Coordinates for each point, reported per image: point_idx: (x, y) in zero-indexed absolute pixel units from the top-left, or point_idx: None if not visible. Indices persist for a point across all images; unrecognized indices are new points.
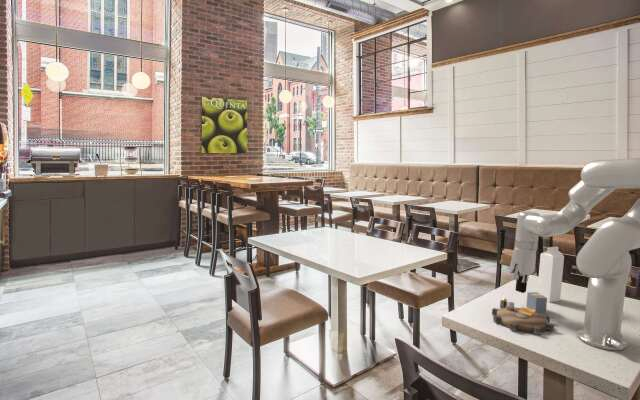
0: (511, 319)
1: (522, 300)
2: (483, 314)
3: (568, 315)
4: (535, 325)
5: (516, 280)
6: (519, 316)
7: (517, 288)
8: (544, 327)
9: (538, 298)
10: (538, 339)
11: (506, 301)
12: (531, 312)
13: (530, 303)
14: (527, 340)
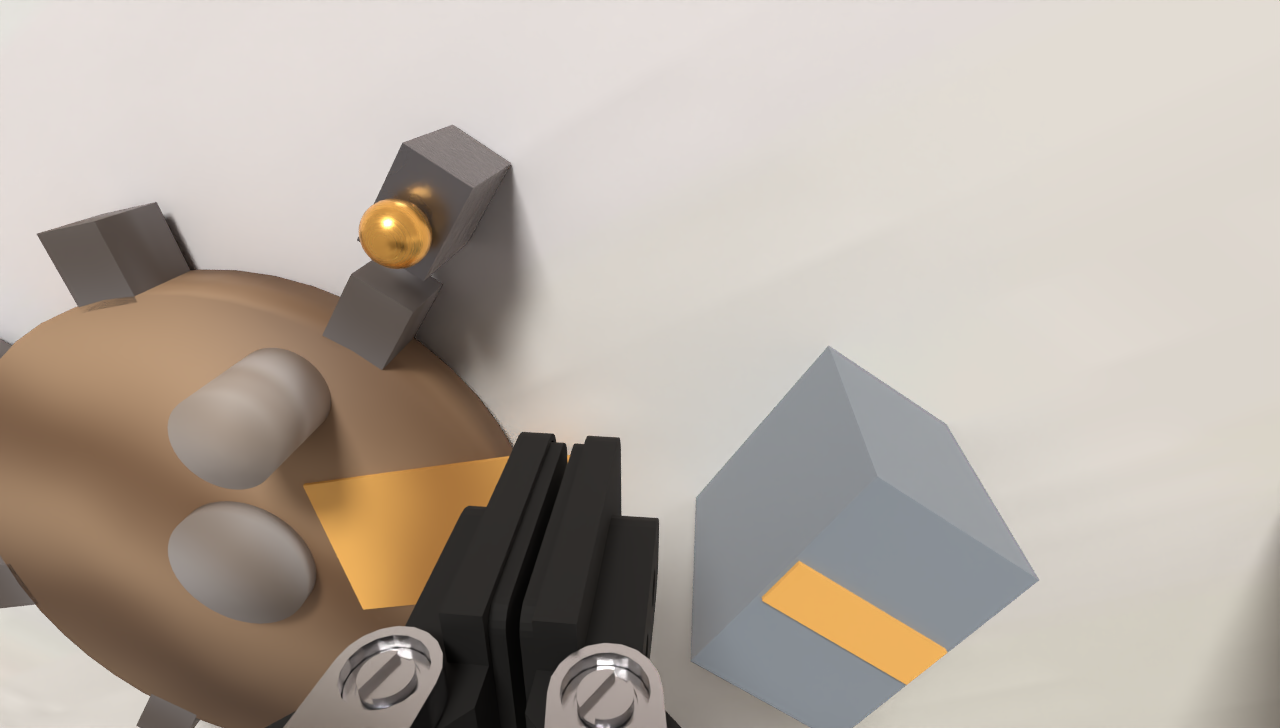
0: (54, 530)
1: (1104, 177)
2: (13, 125)
3: (939, 707)
4: (188, 705)
5: (348, 662)
6: (173, 570)
7: (467, 522)
8: None
9: (717, 668)
10: (147, 701)
11: (441, 244)
12: None
13: (775, 463)
14: (43, 663)
